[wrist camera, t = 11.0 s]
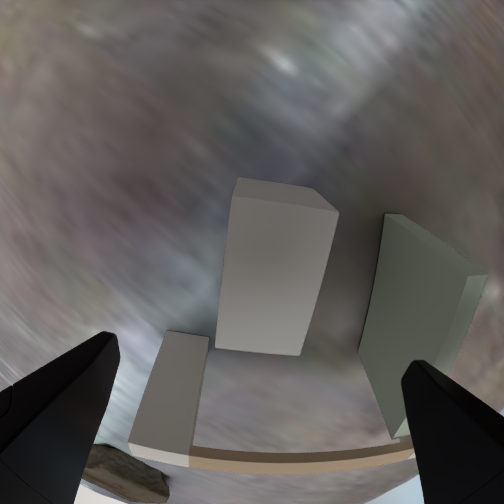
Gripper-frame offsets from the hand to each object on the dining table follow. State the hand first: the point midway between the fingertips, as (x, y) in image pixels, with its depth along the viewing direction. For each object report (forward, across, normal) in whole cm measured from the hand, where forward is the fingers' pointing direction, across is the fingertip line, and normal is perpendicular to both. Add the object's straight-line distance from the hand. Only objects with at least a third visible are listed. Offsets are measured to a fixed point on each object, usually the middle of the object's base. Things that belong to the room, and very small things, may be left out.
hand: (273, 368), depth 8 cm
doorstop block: (+9, 0, 0) cm, 9 cm away
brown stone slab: (+10, +15, +36) cm, 41 cm away
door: (+9, -9, +2) cm, 13 cm away
